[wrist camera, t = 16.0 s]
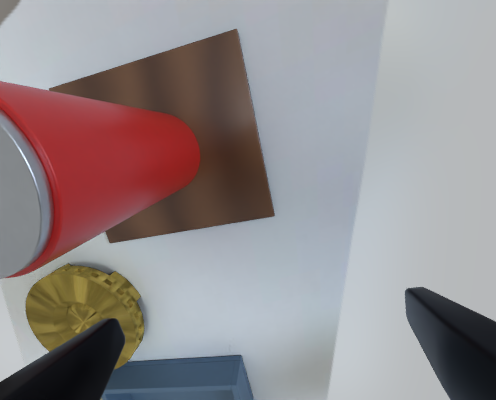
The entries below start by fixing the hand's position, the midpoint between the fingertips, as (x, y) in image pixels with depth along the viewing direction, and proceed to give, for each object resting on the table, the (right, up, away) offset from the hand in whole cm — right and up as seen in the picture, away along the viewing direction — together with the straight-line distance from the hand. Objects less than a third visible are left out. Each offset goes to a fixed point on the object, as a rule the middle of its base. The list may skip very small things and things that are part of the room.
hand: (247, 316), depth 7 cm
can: (-7, +7, +12) cm, 16 cm away
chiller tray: (-7, -20, +20) cm, 29 cm away
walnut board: (-7, +8, +12) cm, 16 cm away
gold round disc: (-17, -9, +18) cm, 26 cm away
